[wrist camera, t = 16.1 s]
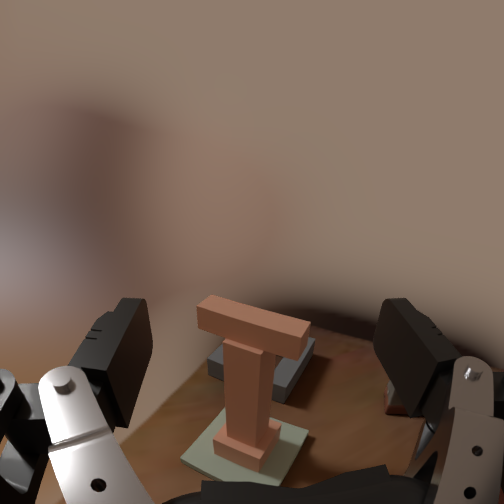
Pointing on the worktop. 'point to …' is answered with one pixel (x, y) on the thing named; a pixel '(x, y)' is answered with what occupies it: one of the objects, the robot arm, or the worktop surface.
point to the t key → (250, 374)
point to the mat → (225, 470)
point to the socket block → (283, 373)
